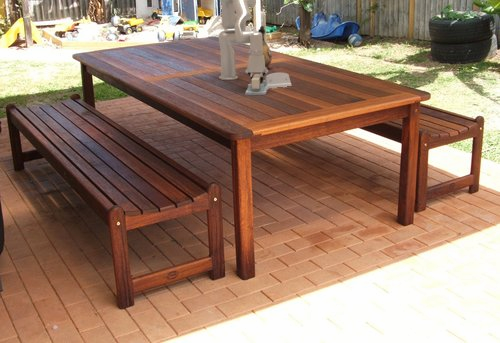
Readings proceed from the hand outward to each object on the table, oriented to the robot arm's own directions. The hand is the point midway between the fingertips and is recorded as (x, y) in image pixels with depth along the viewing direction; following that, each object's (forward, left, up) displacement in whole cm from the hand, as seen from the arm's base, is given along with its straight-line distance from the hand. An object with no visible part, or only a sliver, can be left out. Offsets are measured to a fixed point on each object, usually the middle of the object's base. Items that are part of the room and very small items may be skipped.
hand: (256, 82), depth 427 cm
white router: (-15, +11, -6) cm, 20 cm away
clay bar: (0, 0, -2) cm, 2 cm away
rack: (0, 0, -5) cm, 5 cm away
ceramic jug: (-73, -6, -6) cm, 73 cm away
